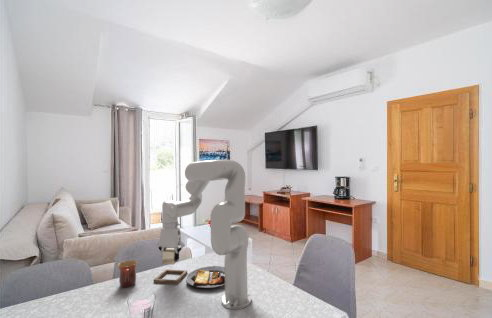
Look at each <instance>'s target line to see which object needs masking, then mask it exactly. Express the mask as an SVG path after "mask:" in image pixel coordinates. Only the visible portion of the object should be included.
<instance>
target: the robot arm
mask: <svg viewBox="0 0 492 318" xmlns="http://www.w3.org/2000/svg"><path fill="white" fill-rule="evenodd" d="M184 176H185V178H186V180H187V182H186V184H185V189H186V191H187V193H189V194H190V196H189V198H188V199H186V200H182V201H177V200H173V199H171V200H164V201H163V202H162V206H161V207H162V209H161V212H162V213H161V214H162V217H161V219H162V227H161V229H160V234H159V235H160V236H159V241H158V242H157V243H155V245H156V246H155V247H157V249H158V250H159V251H160V253H161V254H162V252H163V251H164V250H166V249H167V248H174V250H175V261H177V260H178V259H179V260H180V252H181V251H182V250H183V249H184V247H185V246H186V245H185V243H184V242H183V241H182V234H181V228H180V226H181V223H180V222H179V219H178V218H182V217H185V216H189V215H190V216H191V215H192V214H194V213H196V211H197V210H198V209H199V207H200V206H201V204H202V201H203V192H204V190H205V189H206V188H207V186H208V185H209V184H210V182H211V181H212V182H213V181H222V180H227V183H226V184H225V186H224V187H225V188H224V201H223V202H219V203H217V204H216V205H214V206H213V208H212V210H211V211H210V212H211V213H210V245H211V248H212V250H213V252H214V253H215V254H216V255H218V256H224V265H223V267H225V274H224V276H225V286H224V294H223V296H222V297H221V299H220V300H221V304H222V305H223V306H224V308H226V309H227V310H228V309H231V310H239V309H241V310H242V309H244V308H246V307H248V306H249V305H251V303H252V296H251V294H249V292H248V248H249V239H250V238H249V232H248V230H247V228H246V227H245V226H244V225H241V224H237V223H240V222H241V221H243V220H244V218H245V216H246V194H245V193H246V190H245V189H246V188H245V187H246V172H245V169H244V168H243V166H242V164H241V163H239V162H237V161H235V160H232V159H210V160H202V161H193V162H190V163H189V164H187V166H186V167H185V170H184ZM179 260H178V261H179ZM178 261H177V262H178Z"/></svg>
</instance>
